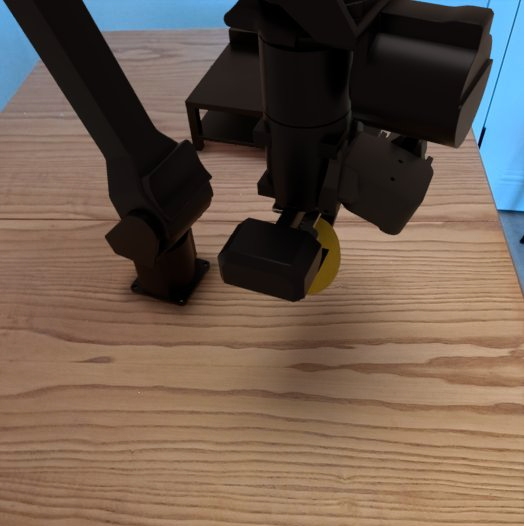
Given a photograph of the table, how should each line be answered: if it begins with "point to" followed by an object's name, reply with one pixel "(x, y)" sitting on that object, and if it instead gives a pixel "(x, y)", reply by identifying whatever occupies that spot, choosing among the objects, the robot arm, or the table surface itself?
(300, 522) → the table surface
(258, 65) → the dark coffee table
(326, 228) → the lemon
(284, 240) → the robot arm
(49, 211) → the table surface
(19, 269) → the table surface
